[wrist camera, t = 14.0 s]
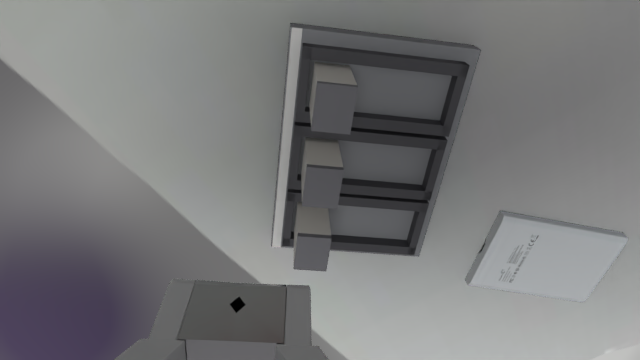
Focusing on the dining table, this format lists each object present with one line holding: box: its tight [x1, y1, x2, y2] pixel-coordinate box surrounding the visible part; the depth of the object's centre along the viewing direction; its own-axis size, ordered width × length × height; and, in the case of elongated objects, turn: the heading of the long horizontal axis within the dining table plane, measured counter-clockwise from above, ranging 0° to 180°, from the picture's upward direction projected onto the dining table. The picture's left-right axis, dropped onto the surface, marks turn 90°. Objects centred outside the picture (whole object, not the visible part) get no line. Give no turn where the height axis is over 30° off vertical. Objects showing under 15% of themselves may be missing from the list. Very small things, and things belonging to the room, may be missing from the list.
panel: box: [271, 23, 481, 257], centre depth 33 cm, size 13×18×2 cm
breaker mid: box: [301, 137, 344, 209], centre depth 31 cm, size 2×3×5 cm
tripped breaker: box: [294, 202, 332, 271], centre depth 33 cm, size 2×3×5 cm
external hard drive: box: [465, 211, 628, 302], centre depth 41 cm, size 2×8×12 cm
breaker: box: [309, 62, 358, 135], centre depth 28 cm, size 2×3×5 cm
